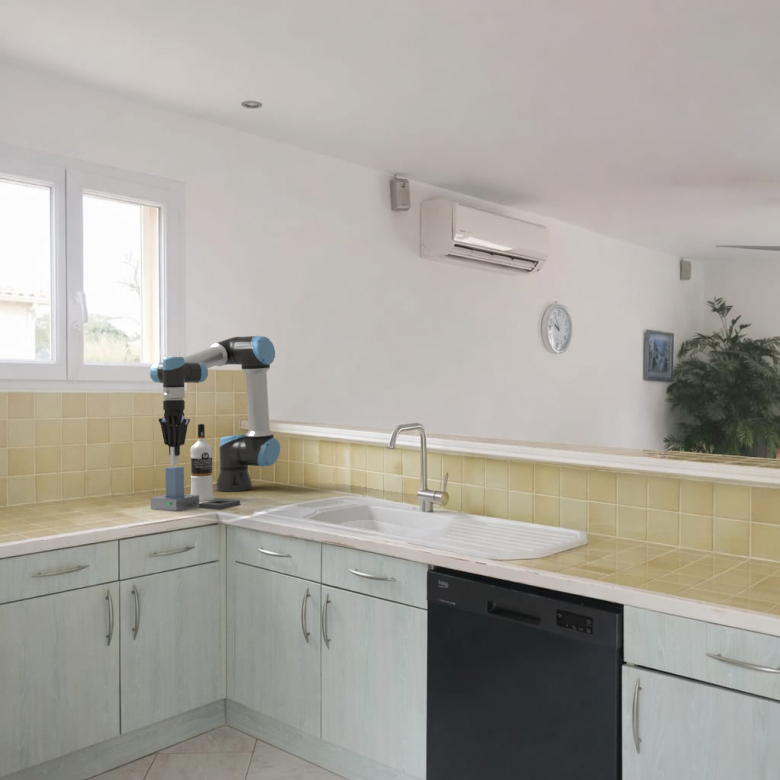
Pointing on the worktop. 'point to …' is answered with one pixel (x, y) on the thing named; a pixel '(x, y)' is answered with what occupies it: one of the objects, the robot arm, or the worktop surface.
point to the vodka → (201, 467)
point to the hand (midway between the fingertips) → (174, 464)
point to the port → (174, 502)
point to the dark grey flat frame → (219, 504)
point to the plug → (174, 482)
